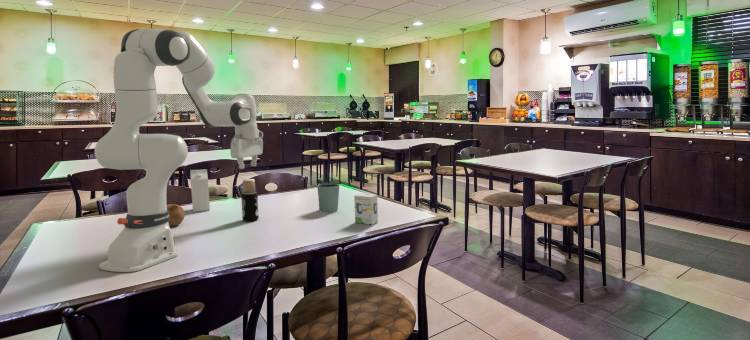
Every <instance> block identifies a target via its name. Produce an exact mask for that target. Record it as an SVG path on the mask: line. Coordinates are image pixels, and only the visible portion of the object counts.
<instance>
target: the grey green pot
mask: <svg viewBox="0 0 750 340" xmlns="http://www.w3.org/2000/svg"><path fill="white" fill-rule="evenodd" d="M316 187H317V195H318V210H319V212H320V211H321V212H320V213H323V212H332V213H335V212H334V211H336V212H338V211H337V210H339V198H340V197H339V196H340V184H338V183H319V184H317V185H316Z"/></svg>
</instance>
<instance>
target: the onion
mask: <svg viewBox="0 0 750 340" xmlns="http://www.w3.org/2000/svg"><path fill="white" fill-rule="evenodd" d="M167 209H168V211H169V221H168V223H169V227H176V226H179V225H180V224H182V222H183V221H184V220H185V215H186V213H185V210H184V208H183V207H182V206H181V205H179V204H176V203H170V204H167Z"/></svg>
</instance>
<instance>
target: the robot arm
mask: <svg viewBox="0 0 750 340" xmlns="http://www.w3.org/2000/svg"><path fill="white" fill-rule="evenodd" d="M163 66H164V67H165V66H166V67H167V66H170V67H174V66H175V67H176V68H177V69H178V70H179V72H180V74H181V75H182V78H181V80H182V81H181V82H182V85H183V87H184V89H185V91H186V93H187V95H188V96H189V97H190V99H191V101H192V103H193V104H194V106H195V108H196V109H197V111H198V114H199V116H200V119H201V121H202V123H203V124H204V125H205V126H206V127H208V128H219V127H222V128H223V127H226V128H227V127H234V133H235V134H234V135H233V137H232V138H231V141H230V157H231V159H236V162H237V164H238V168H239V169H240V170H244V169H245V168H246V164H245V163H244V158H249V157H251V161H250V166H251V167H256V166H257V161H258V156H260V155H263V152H264V151H263V150H264V140H263V137H264V132H262V131H261V130H259V129H258V124H257V118H258V117H257V115H258V114H257V113H258V112H257V103H256V99H255V97H254V95H251V94H249V93H237V94H235V95H234V98H233V99H231V100H229V101H214V100H212V99H210V98H209V95H208V93H207V92H206V90H205V88H204V86H206V85H207V84H209V82H211V80H212V79H213V77H214V75H215V72H216V69H215V68H216V67H215V64H214V62H213V60H212V58H211V56H209V54H208V53H207V51H206V50H205V48H204V47H203V46H202V45H201V43H200V42H199V41H198V40H197V39H196V38H195V37H194V36H193V35H192V34H191V33H190V32H188V31H186V30H177V31H175V30H171V29H157V28H141V29H140V28H138V29H137V28H136V29H131V30H130V31H128V32H126V33H125V34H124V35H123V36H122V39H121V44H120V53H117V55H116V56H115V57H114V61H113V87H114V94H115V95H114V96H115V119H114V121H113V122H114V123H113V124H112V126H111V128H110V129H109V130H108V132H107V133H106V134H104V135H103V136H102V137H101V138H100V139H98V141H97V142H96V144H95V147H94V155H95V157H94V158H95V160H96V162H98V164H99V165H100V166H102V168H104V169H111V170H117V171H118V170H119V171H122V170H123V171H124V170H129V171H130V170H145V176H144V177H142V178H140V179H139V180H136V181H135V182H133V183H131V184H130V185H129V186H128V187H127V189H126V206H127V213H126V216H125V217H118V218H117V220H116V223H117V224H118V225H123V227H124V228H123V229H122V230H121V231H120V233H119V234H118V235H117V236H116V237H115V238H114V239H113V241H112V242H111V243H110V244H109V246H108V247H107V248H108V249H107V259H106V260H105V261H103V262H101V263H99V264H98V269H100V270H102V271H107V272H115V273H131V272H139V271H141V270H144V269H148V268H149V267H152V266H154V265H156V264H157V265H158V264H160V263H162V262H165V261H168V260H170V259H173V258H175V257H178V256H179V254H178V251H177V250H176V249H177V248H176V247H175V242H174V236H173V232H172V229H171V226H169V223H168V221H169V211H168V209H167V205H168V204H167V190H168V189H167V187H168V183H169V180H170V178H171V177H172V175H173V173H174V172H175V171H176V170H177V169H178V168H179V167H180V166H182V165H183V164H184V163H185V162H186V160H187V157H188V151H189V150H188V145H187V143H186V141H185V139H183V137H181V136H180V135H175V134H170V133H140V127H141V126H142V125H145V124H146V123H150V122H151V121H152V120H154V119H155V118H156V117H157V116H158V113H159V105H158V96H157V95H158V94H157V86H156V78H155V71H156V68H157V67H163Z"/></svg>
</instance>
